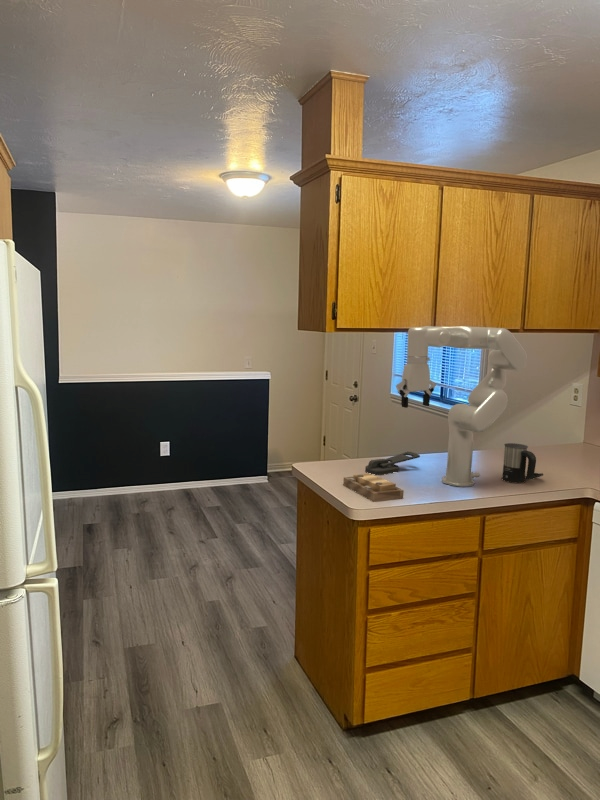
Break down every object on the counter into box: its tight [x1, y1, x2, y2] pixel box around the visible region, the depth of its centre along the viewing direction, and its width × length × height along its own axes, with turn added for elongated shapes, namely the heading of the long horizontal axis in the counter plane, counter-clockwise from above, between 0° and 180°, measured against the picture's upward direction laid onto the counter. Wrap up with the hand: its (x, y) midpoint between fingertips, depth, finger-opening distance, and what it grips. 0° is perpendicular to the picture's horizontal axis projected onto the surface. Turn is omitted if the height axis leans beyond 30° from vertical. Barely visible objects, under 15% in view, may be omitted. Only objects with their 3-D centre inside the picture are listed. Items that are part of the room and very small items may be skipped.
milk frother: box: [501, 442, 544, 484], centre depth 247 cm, size 14×16×15 cm
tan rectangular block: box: [352, 472, 397, 492], centre depth 222 cm, size 16×7×4 cm, turn 32°
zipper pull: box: [364, 451, 421, 476], centre depth 255 cm, size 9×7×25 cm
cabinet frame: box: [343, 476, 405, 503], centre depth 223 cm, size 22×12×4 cm, turn 25°
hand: (415, 406), depth 226 cm, fingers open, 9 cm apart
